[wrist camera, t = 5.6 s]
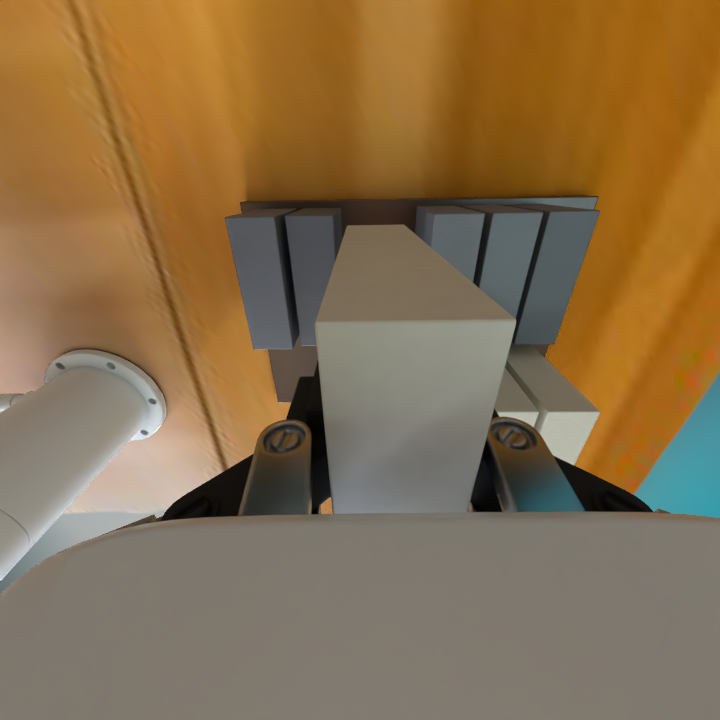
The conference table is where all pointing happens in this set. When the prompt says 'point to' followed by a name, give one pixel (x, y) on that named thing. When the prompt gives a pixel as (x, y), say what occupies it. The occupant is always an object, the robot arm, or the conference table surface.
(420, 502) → the ivory book
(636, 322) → the conference table surface
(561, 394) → the ivory books
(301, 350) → the shelf board
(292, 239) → the grey books
